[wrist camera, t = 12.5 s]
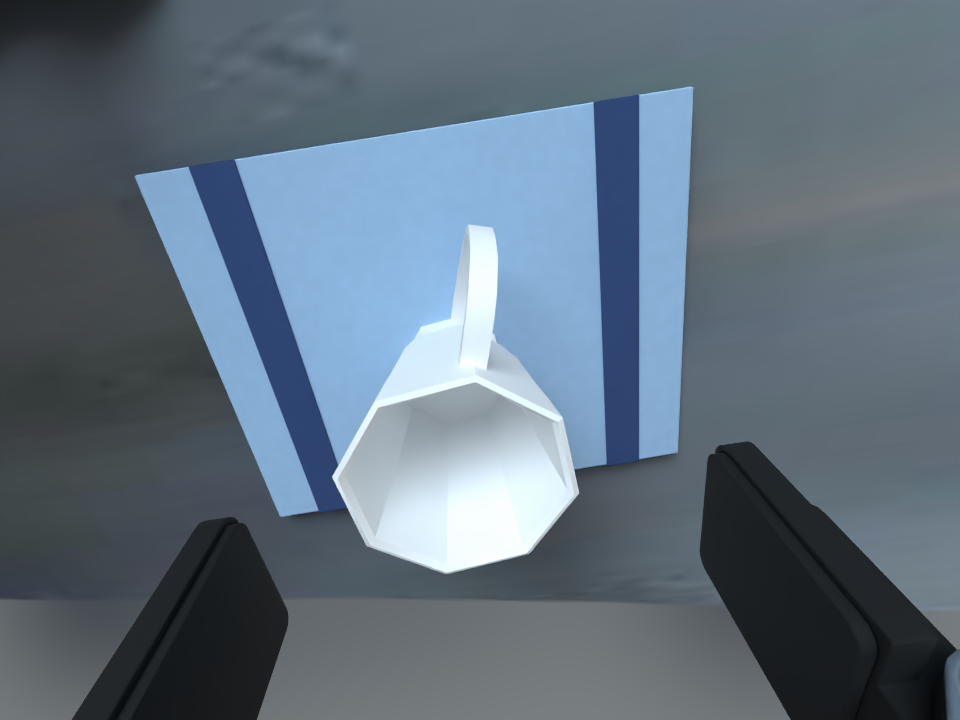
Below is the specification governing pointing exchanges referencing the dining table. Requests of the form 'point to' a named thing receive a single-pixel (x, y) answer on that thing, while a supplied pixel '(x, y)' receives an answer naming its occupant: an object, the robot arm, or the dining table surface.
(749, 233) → the dining table surface
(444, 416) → the cup
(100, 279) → the dining table surface
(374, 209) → the towel
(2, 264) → the dining table surface
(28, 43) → the dining table surface
